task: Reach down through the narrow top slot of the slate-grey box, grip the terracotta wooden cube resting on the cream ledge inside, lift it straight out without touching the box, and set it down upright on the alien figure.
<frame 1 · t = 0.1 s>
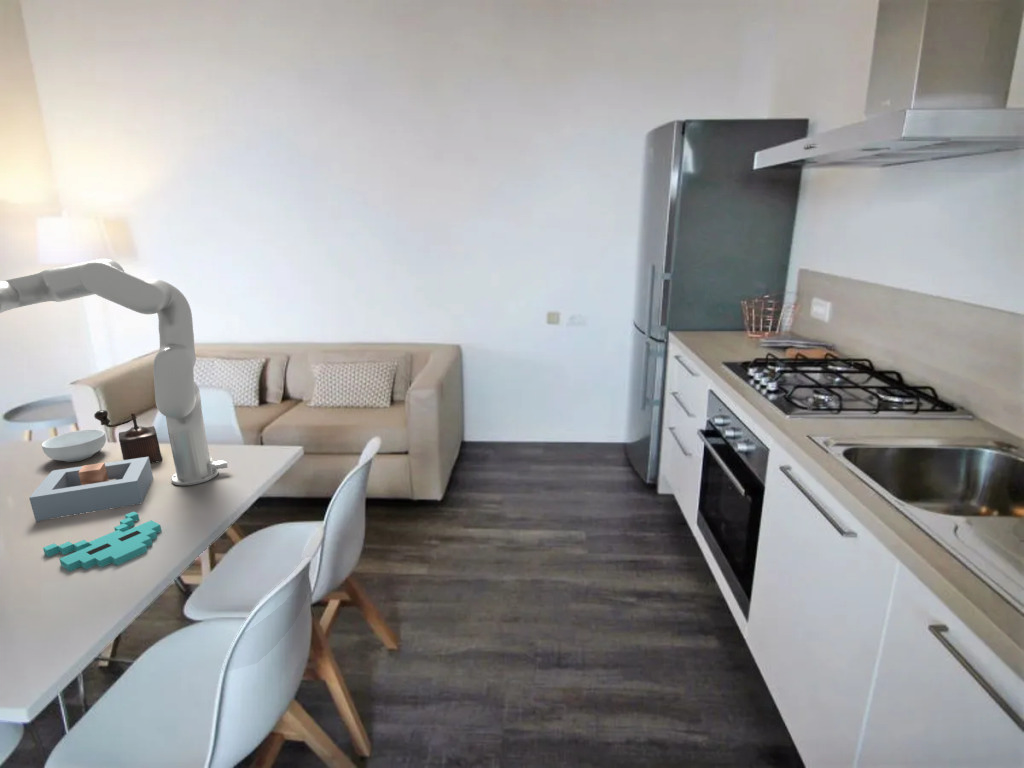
alien figure: (112, 548, 137), on the table
terracotta cube: (96, 486, 160), point 3 cm above the table, touching slot box
cereal bowl: (78, 457, 189), on the table
slot box: (99, 497, 161), on the table
brown manual coffee grinder: (134, 462, 185), on the table
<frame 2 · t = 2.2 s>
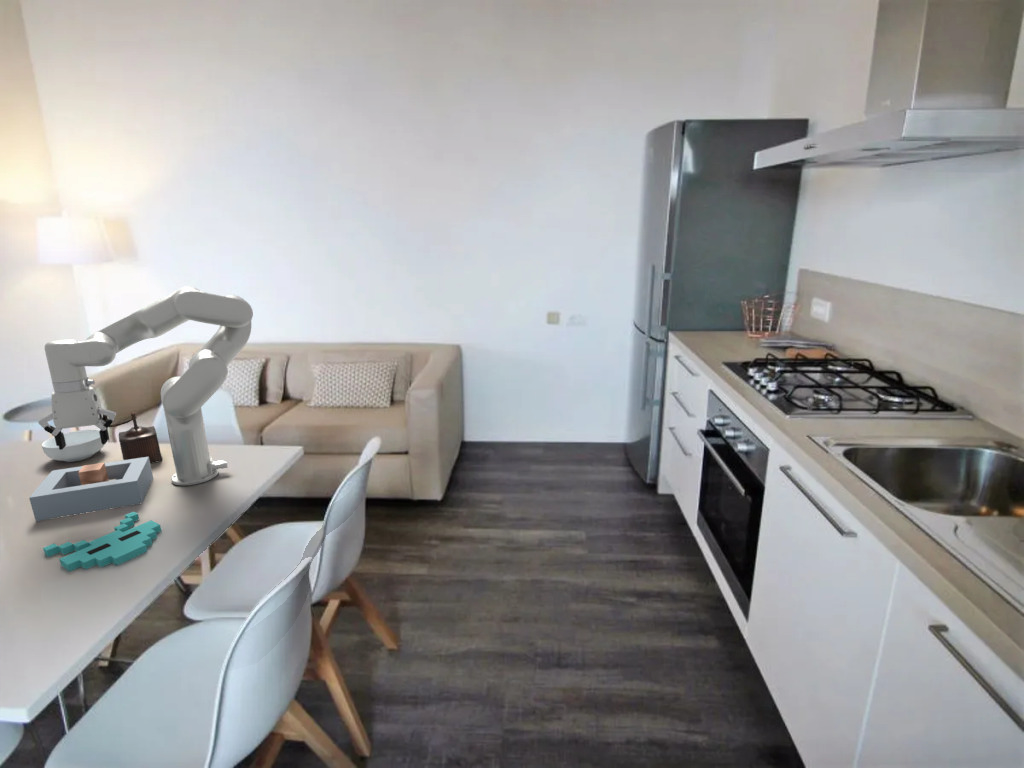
hand: (84, 445, 156), 16 cm above the table, tool pointing down, fingers open, 9 cm apart
nothing on the table moved.
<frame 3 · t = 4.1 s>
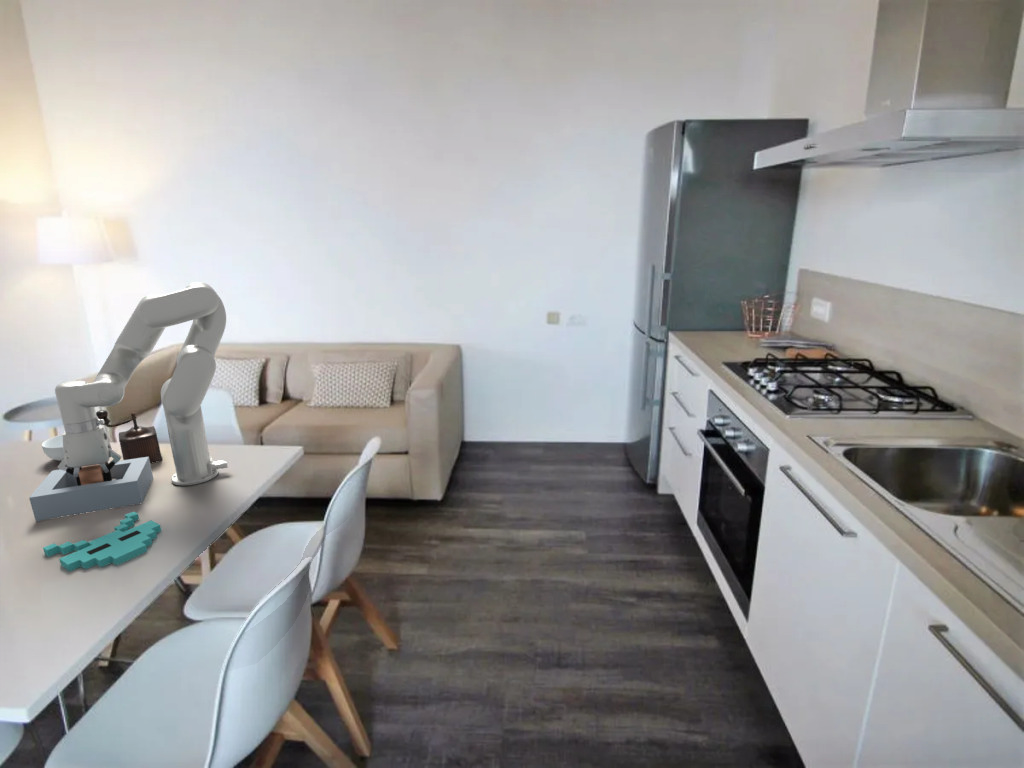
hand: (95, 485, 160), 4 cm above the table, tool pointing down, fingers closed on terracotta cube, 5 cm apart
terracotta cube: (96, 486, 160), point 4 cm above the table, touching gripper, slot box
everything else where it was.
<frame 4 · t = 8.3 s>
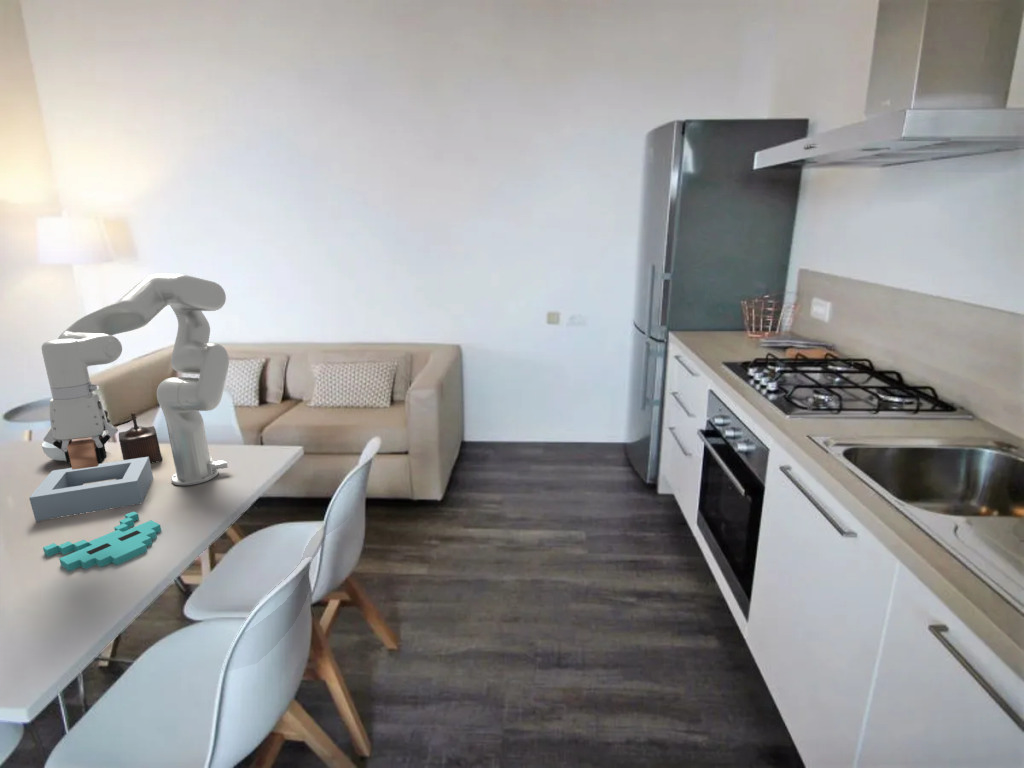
hand: (87, 462, 137), 19 cm above the table, tool pointing down, fingers closed on terracotta cube, 5 cm apart
terracotta cube: (88, 464, 138), point 19 cm above the table, touching gripper
everything else where it was.
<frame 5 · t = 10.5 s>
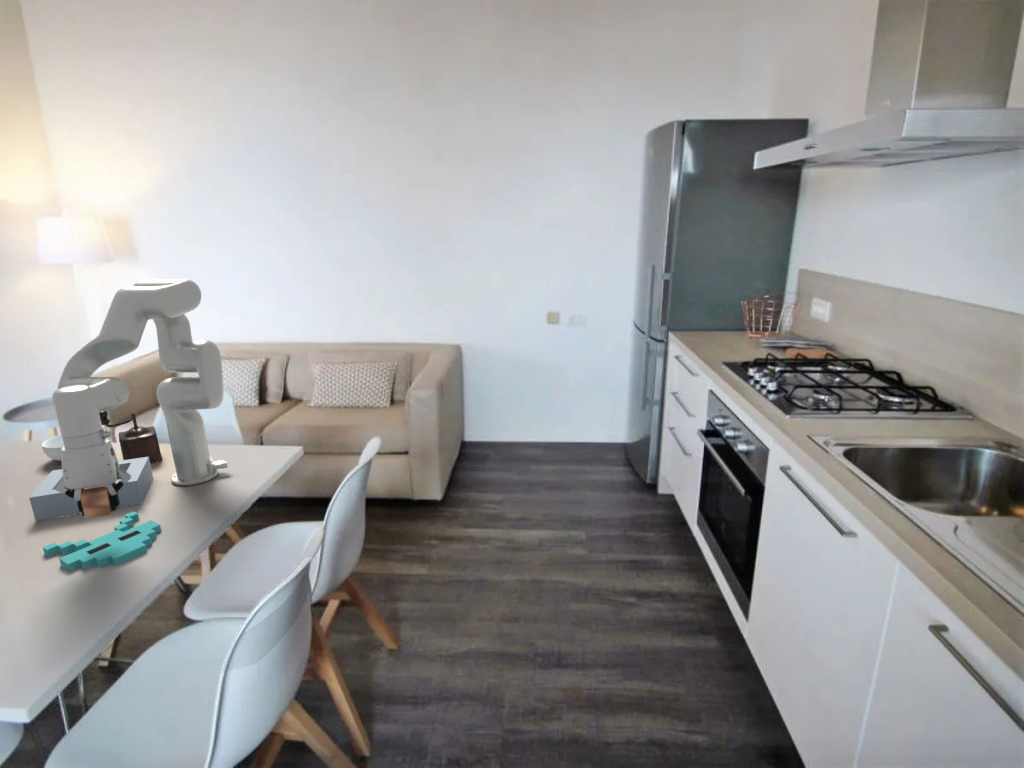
hand: (100, 510, 134), 10 cm above the table, tool pointing down, fingers closed on terracotta cube, 5 cm apart
terracotta cube: (101, 511, 134), point 9 cm above the table, touching gripper
everything else where it was.
when the fingers open (4 cm above the table, at t = 12.3 s): terracotta cube drops 2 cm, resting on alien figure.
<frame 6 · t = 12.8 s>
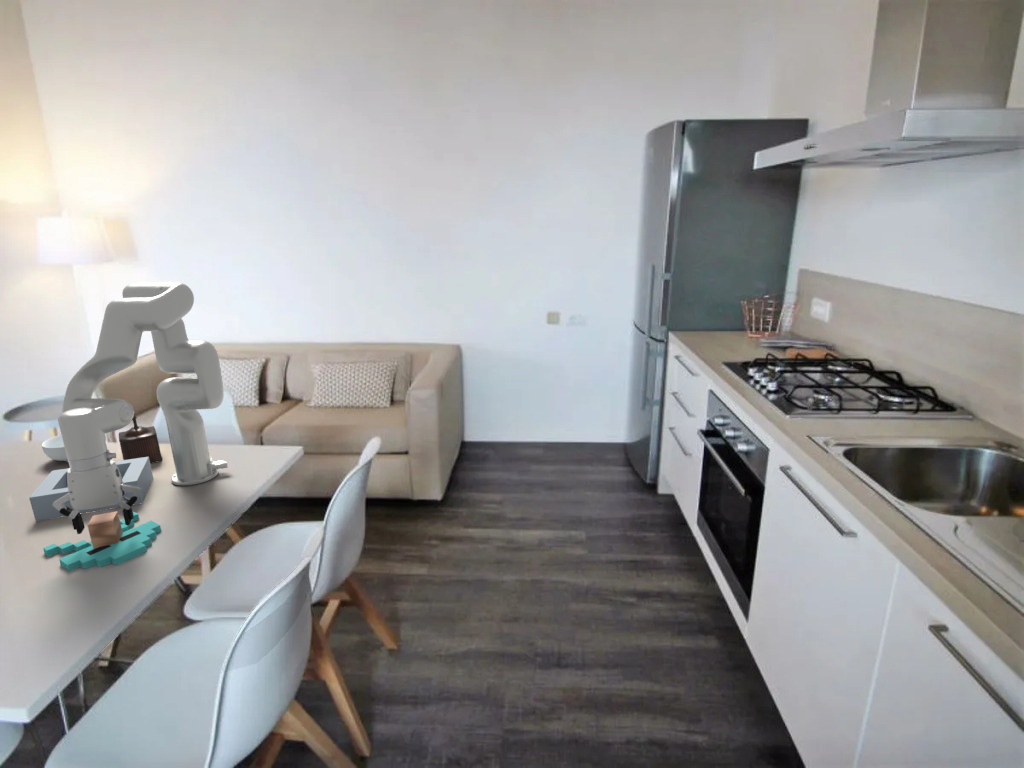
hand: (105, 526, 135), 5 cm above the table, tool pointing down, fingers open, 9 cm apart
alien figure: (112, 548, 137), on the table, touching terracotta cube
terracotta cube: (108, 540, 136), point 2 cm above the table, touching alien figure
everything else where it was.
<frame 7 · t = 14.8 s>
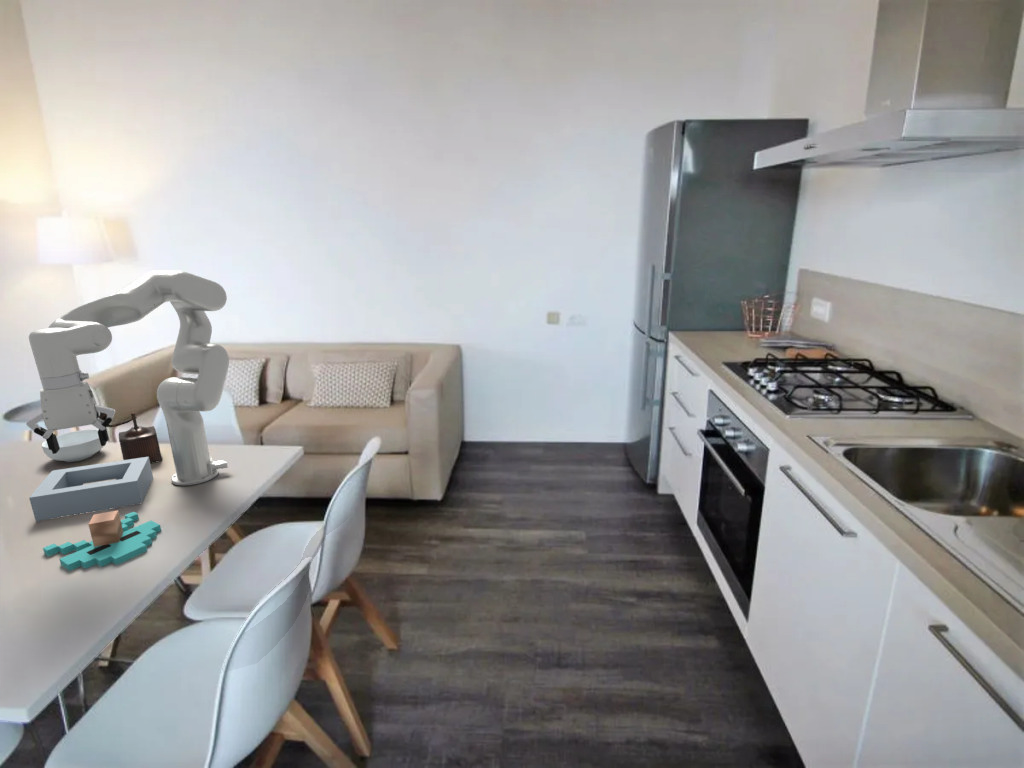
hand: (80, 447, 137), 23 cm above the table, tool pointing down, fingers open, 9 cm apart
nothing on the table moved.
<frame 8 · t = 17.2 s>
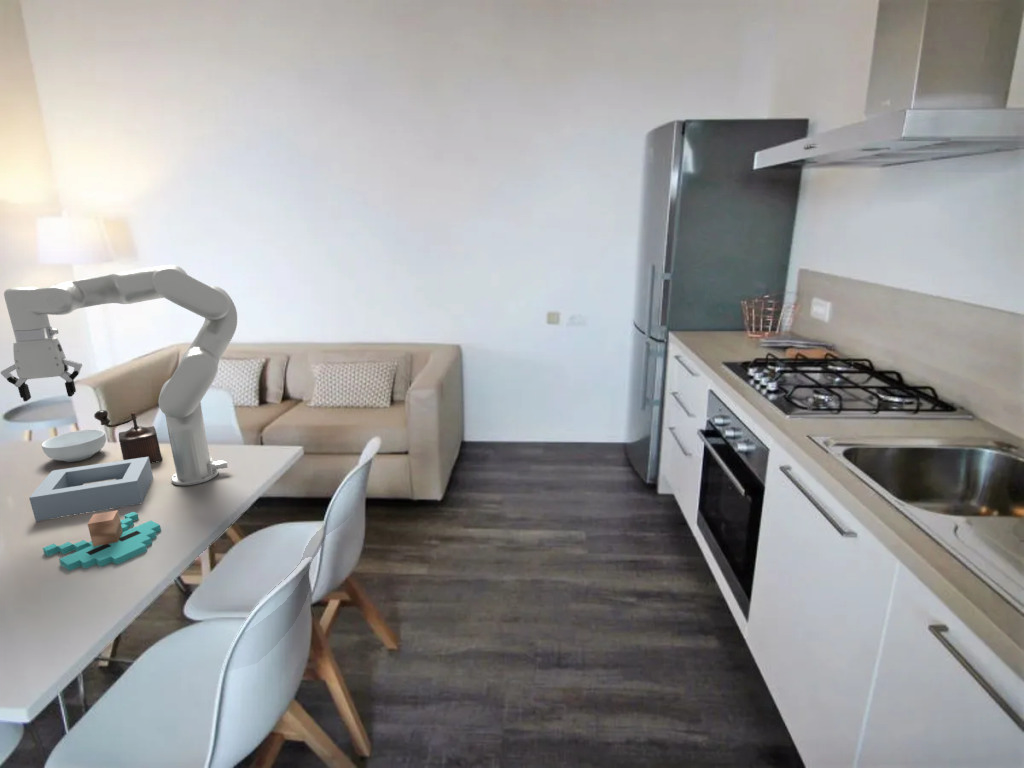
hand: (49, 397, 152), 30 cm above the table, tool pointing down, fingers open, 9 cm apart
nothing on the table moved.
at the end: terracotta cube inside the target area on the alien figure (0.8 cm from its centre), point 2.4 cm above the alien figure's base; terracotta cube tilted 0°; the gripper is holding nothing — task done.
